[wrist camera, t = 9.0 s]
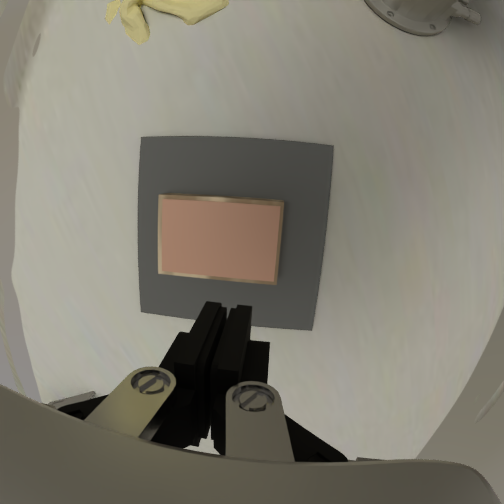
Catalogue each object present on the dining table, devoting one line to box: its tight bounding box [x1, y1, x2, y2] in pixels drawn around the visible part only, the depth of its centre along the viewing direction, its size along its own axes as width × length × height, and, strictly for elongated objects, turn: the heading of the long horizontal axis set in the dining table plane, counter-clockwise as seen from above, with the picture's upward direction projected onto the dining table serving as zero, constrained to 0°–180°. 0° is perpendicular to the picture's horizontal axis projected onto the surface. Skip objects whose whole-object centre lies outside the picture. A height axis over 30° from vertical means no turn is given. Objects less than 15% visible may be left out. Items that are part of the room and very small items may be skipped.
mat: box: [138, 136, 334, 331], centre depth 32 cm, size 20×20×1 cm
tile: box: [158, 193, 284, 285], centre depth 30 cm, size 3×8×12 cm
